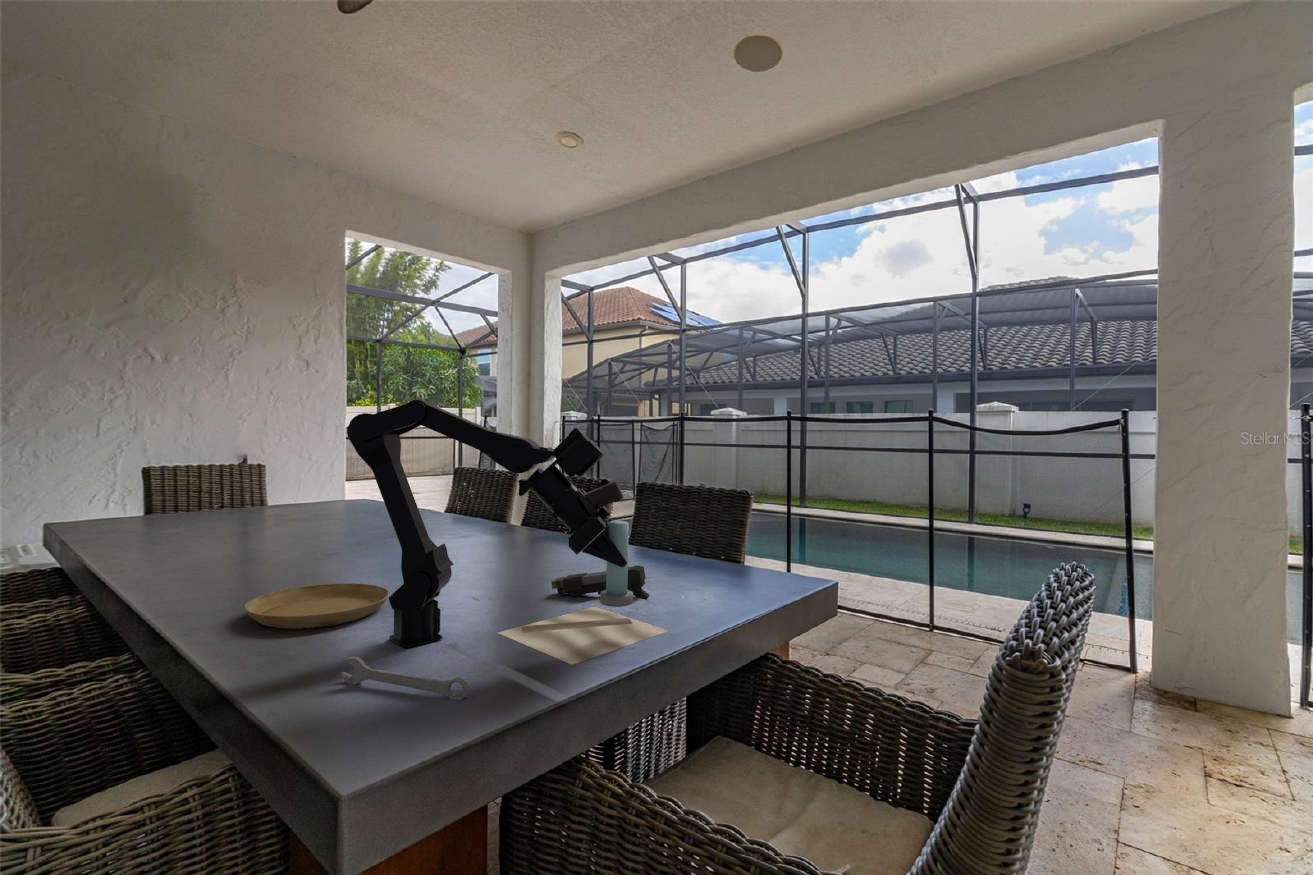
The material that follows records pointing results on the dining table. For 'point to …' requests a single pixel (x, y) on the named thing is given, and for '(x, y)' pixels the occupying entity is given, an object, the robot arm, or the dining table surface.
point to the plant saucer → (316, 605)
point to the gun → (599, 583)
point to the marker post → (617, 569)
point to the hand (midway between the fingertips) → (625, 562)
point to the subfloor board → (582, 634)
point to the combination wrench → (401, 679)
